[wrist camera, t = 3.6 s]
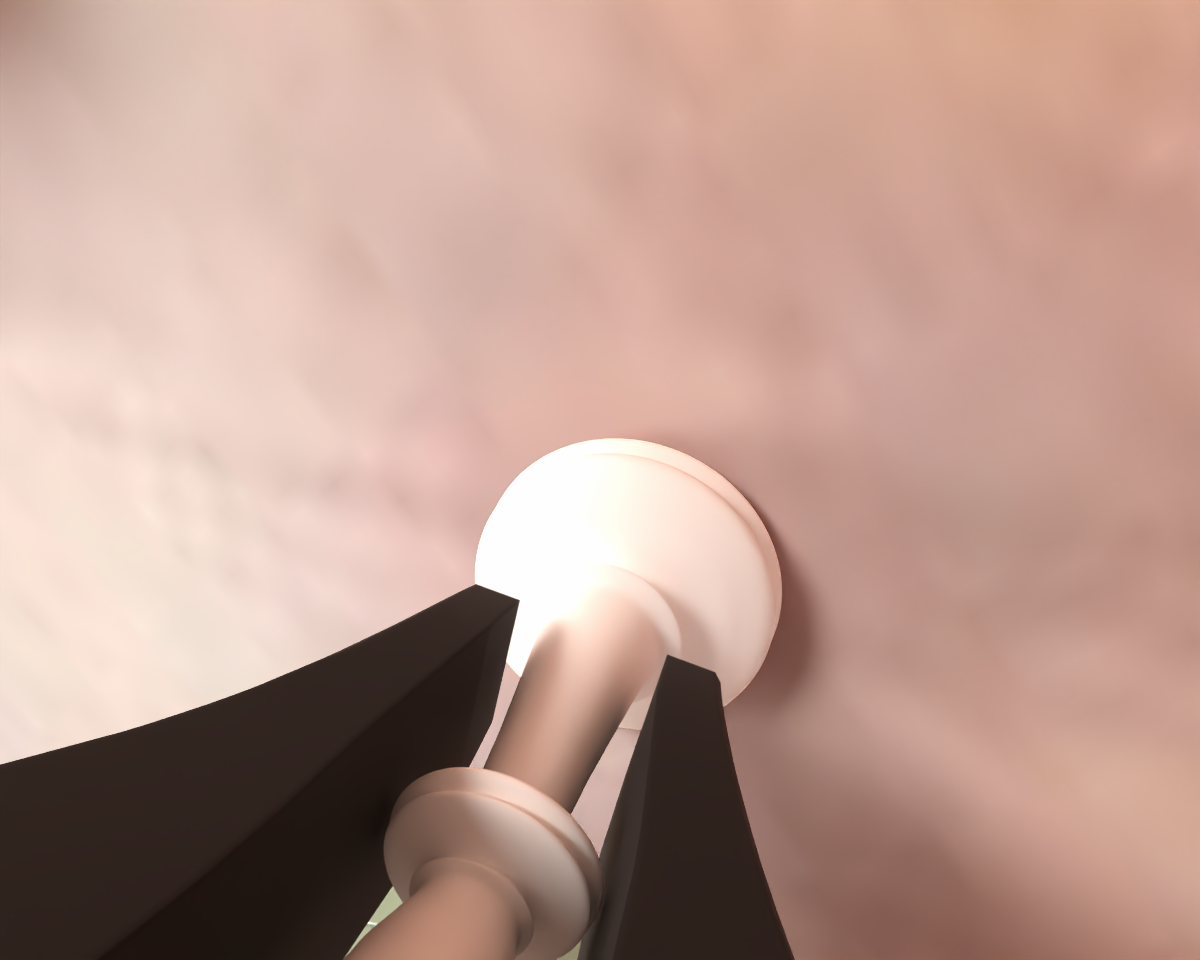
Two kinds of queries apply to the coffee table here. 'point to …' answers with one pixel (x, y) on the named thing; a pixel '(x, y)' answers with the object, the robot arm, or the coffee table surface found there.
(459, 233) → the coffee table surface
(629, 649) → the chess piece
